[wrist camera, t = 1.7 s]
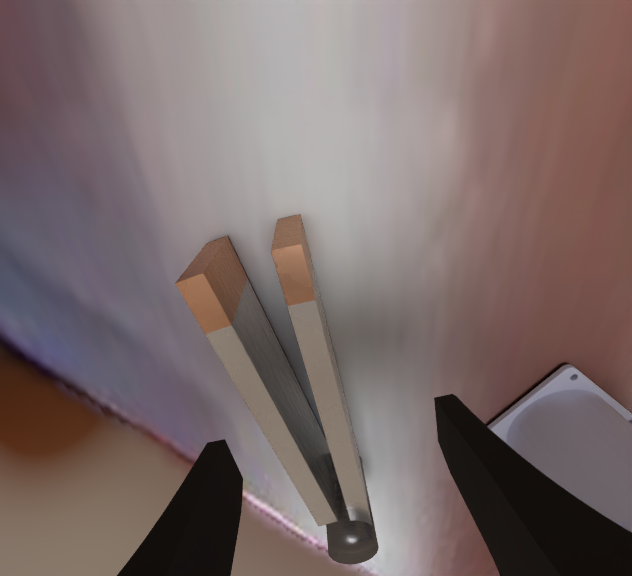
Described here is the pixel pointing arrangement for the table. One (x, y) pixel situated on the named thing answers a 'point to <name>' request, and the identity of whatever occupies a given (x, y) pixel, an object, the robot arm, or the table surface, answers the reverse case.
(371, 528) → the tongs fixed arm
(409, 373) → the table surface
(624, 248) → the table surface
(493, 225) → the table surface
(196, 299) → the tongs moving arm
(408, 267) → the table surface
